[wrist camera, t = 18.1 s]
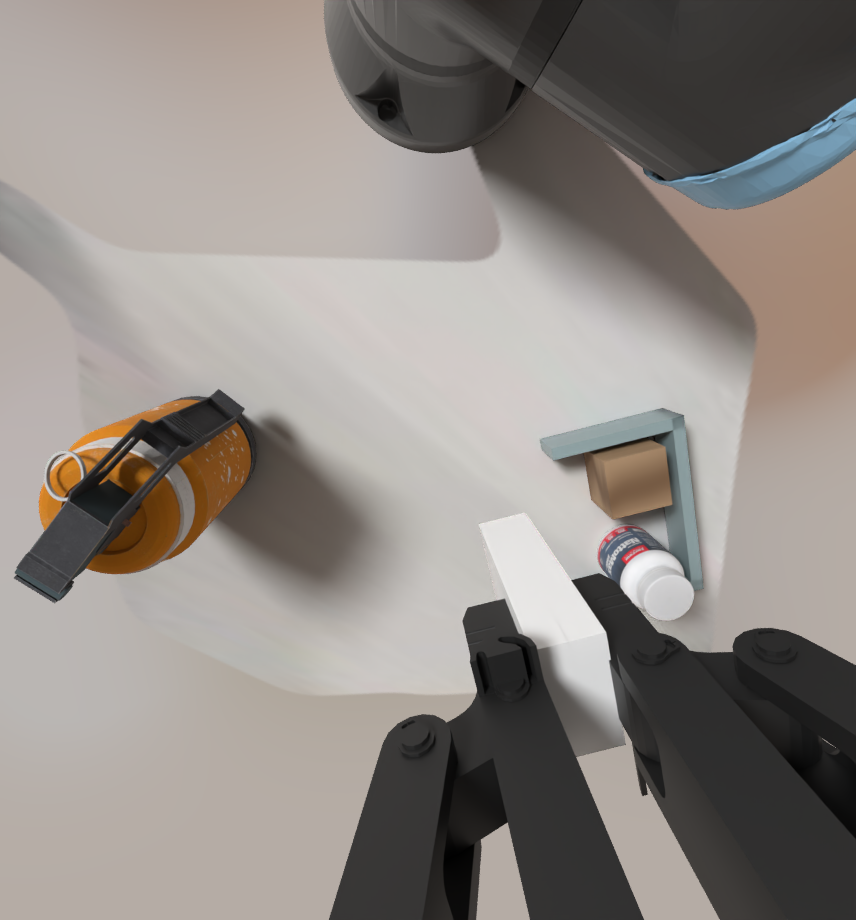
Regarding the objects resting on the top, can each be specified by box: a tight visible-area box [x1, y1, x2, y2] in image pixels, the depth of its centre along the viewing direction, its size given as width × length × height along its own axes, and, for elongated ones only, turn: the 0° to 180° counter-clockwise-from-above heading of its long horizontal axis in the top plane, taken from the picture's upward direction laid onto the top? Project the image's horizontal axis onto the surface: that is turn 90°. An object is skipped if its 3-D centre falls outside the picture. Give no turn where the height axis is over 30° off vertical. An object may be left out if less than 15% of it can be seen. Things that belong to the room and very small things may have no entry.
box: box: [540, 408, 704, 591], centre depth 47 cm, size 16×11×4 cm
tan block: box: [584, 437, 672, 519], centre depth 45 cm, size 5×5×5 cm
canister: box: [14, 389, 256, 603], centre depth 35 cm, size 9×11×20 cm
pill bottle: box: [597, 525, 694, 621], centre depth 45 cm, size 5×5×9 cm
